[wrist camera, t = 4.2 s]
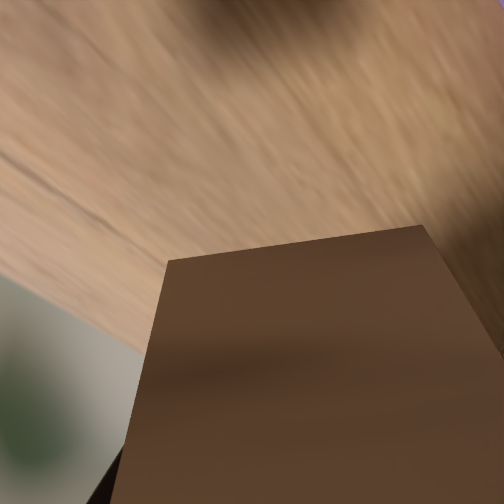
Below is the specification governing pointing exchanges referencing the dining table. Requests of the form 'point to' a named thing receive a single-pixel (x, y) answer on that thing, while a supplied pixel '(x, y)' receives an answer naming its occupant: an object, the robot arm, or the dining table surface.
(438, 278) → the walnut block
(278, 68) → the dining table surface
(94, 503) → the robot arm
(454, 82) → the dining table surface
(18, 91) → the dining table surface
